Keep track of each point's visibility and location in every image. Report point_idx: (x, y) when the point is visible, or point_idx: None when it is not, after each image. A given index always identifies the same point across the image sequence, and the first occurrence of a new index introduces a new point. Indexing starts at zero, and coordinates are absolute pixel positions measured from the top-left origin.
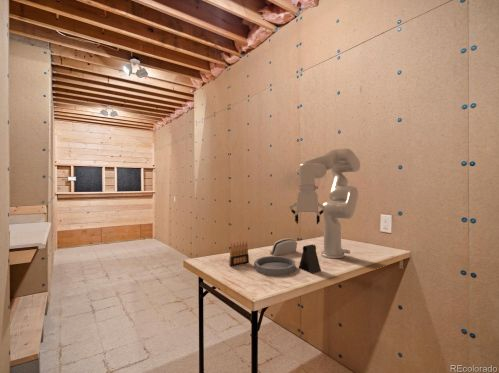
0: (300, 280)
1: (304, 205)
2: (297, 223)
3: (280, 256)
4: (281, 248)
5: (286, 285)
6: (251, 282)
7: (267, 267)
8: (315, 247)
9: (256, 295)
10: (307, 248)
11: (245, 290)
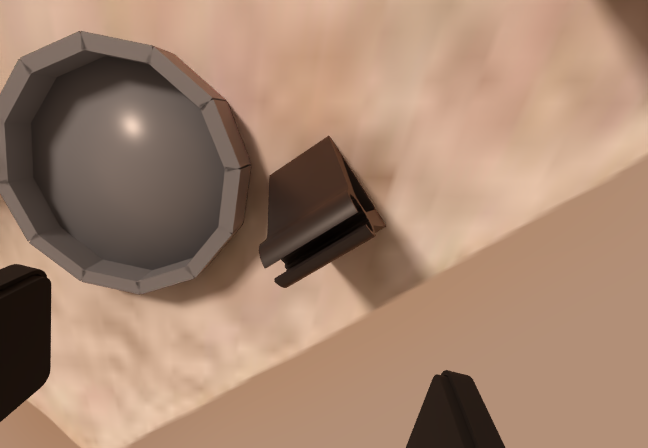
0: (259, 332)
1: None
2: (43, 374)
3: (141, 44)
4: None
5: (197, 374)
6: (56, 341)
7: (92, 181)
8: (369, 239)
9: (98, 437)
10: (290, 284)
11: (53, 403)
